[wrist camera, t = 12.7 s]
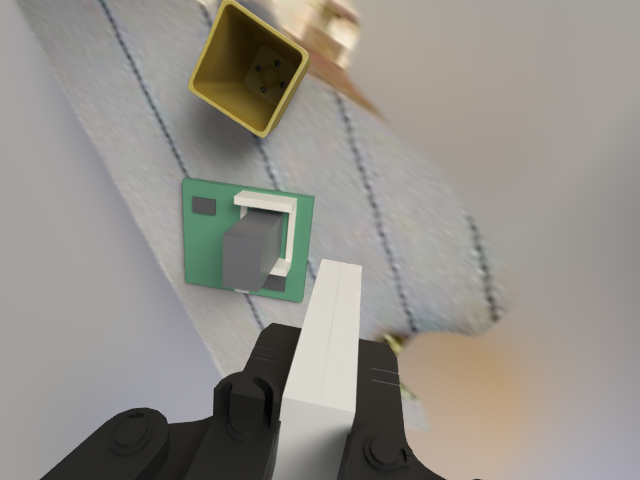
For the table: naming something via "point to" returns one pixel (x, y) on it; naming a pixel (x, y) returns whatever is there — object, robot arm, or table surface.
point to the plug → (252, 249)
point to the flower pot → (248, 69)
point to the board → (226, 210)
